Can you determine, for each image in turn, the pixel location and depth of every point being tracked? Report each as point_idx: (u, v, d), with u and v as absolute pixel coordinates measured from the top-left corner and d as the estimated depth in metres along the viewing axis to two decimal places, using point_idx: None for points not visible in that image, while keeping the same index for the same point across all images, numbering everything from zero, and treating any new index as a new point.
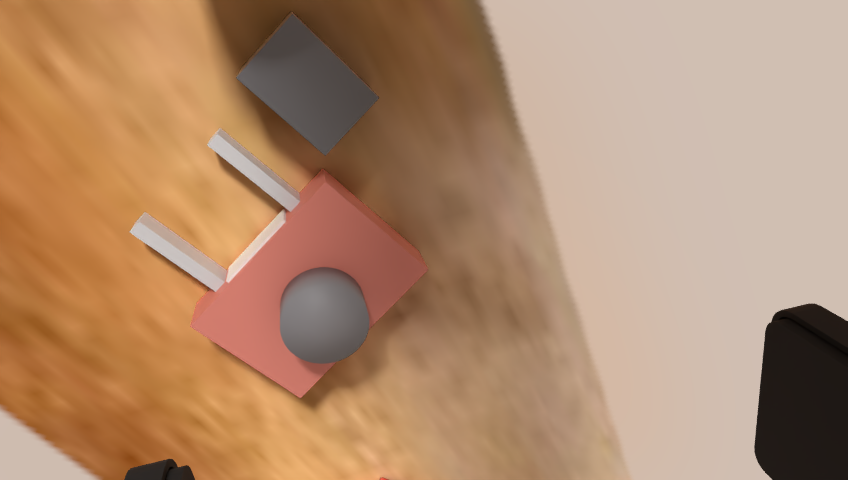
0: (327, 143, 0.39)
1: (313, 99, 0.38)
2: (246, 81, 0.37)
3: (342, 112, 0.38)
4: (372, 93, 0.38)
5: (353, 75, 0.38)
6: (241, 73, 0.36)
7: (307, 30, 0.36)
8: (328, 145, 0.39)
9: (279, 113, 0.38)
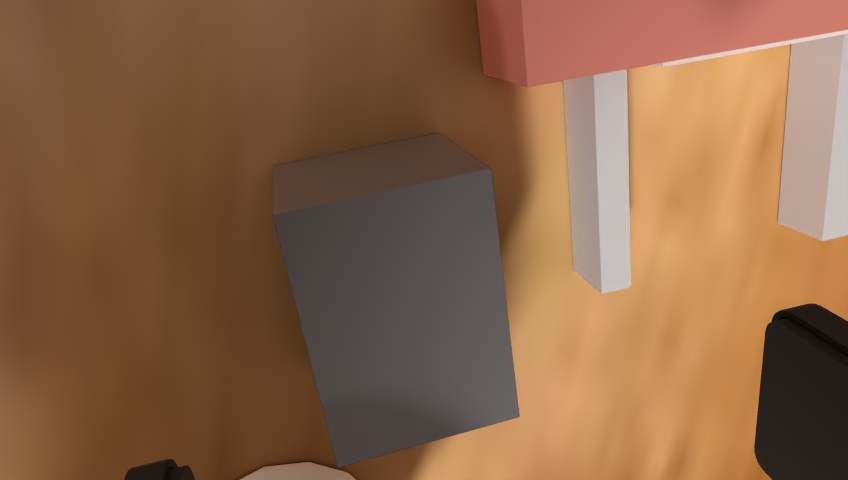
0: (463, 192, 0.14)
1: (419, 302, 0.15)
2: (508, 402, 0.16)
3: (380, 237, 0.14)
4: (282, 234, 0.14)
5: (299, 298, 0.14)
6: (504, 418, 0.17)
7: (331, 428, 0.16)
8: (466, 186, 0.14)
9: (503, 314, 0.16)
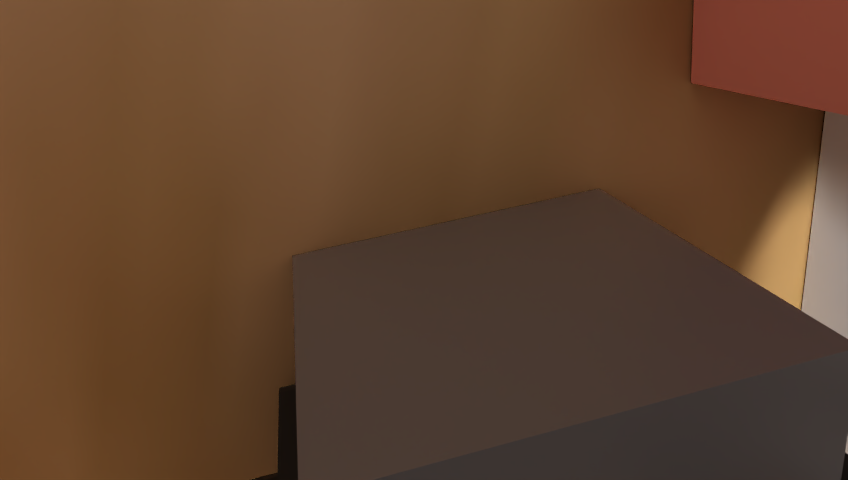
0: (784, 405, 0.06)
1: None
2: None
3: None
4: None
5: None
6: None
7: None
8: (794, 392, 0.05)
9: None
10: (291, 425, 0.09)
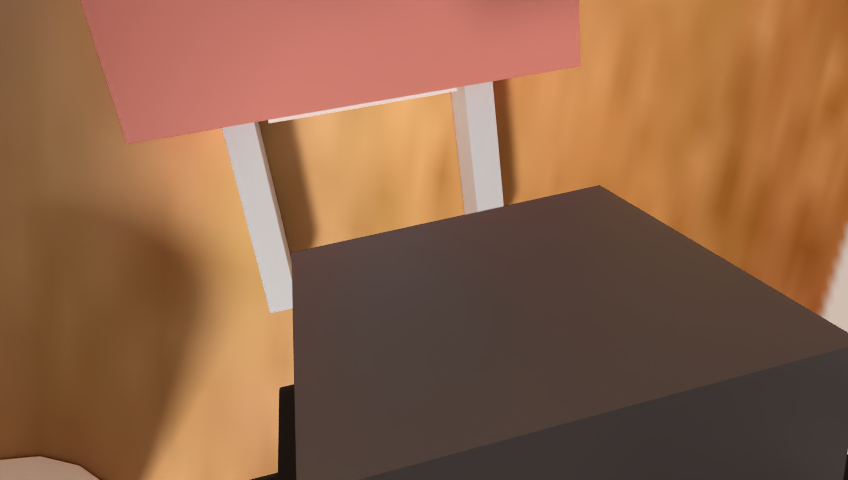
0: (787, 400, 0.05)
1: None
2: None
3: None
4: None
5: None
6: None
7: None
8: (797, 388, 0.05)
9: None
10: (291, 425, 0.09)
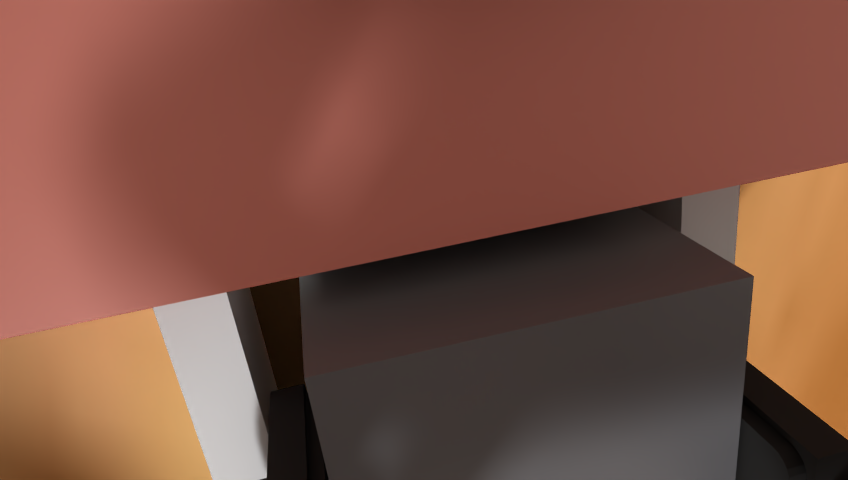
0: (693, 323, 0.07)
1: None
2: None
3: (521, 411, 0.07)
4: (323, 415, 0.06)
5: None
6: None
7: None
8: (700, 312, 0.07)
9: None
10: (281, 430, 0.08)
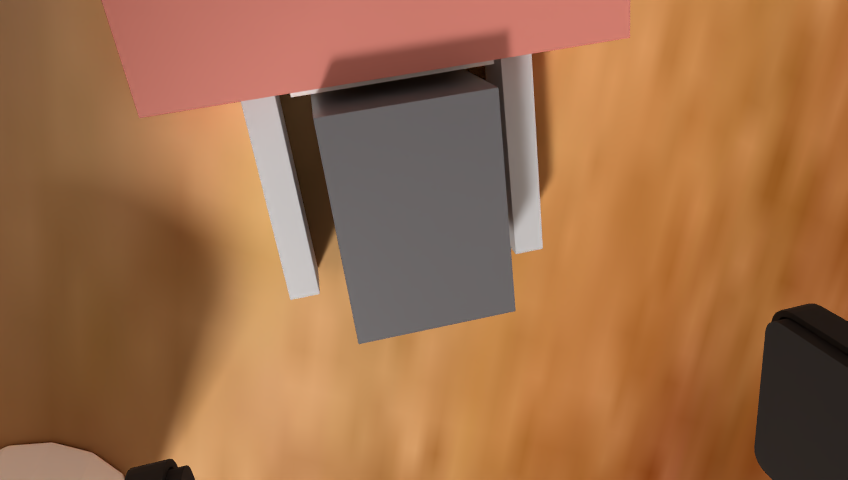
0: (474, 107, 0.17)
1: (433, 202, 0.18)
2: (506, 297, 0.19)
3: (402, 143, 0.17)
4: (320, 136, 0.16)
5: (332, 192, 0.17)
6: (502, 311, 0.19)
7: (354, 309, 0.18)
8: (476, 102, 0.17)
9: (504, 218, 0.18)
10: None
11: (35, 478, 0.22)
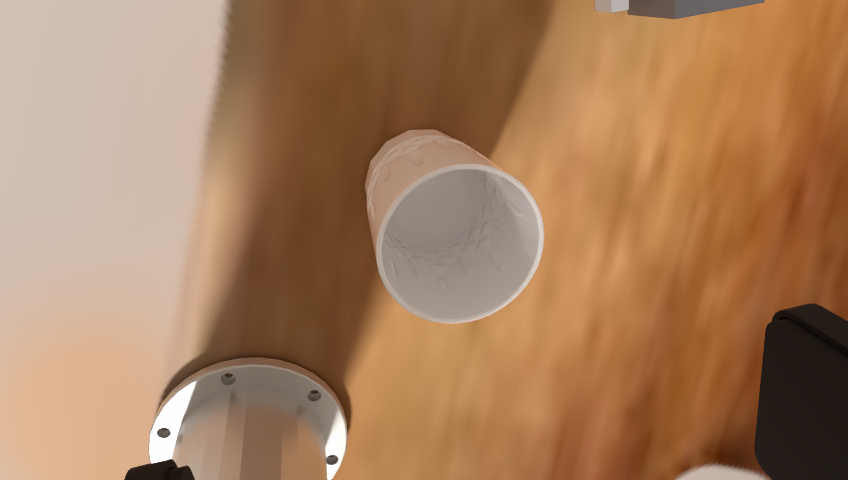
0: None
1: None
2: None
3: None
4: None
5: None
6: (756, 2, 0.32)
7: None
8: None
9: None
10: None
11: (444, 136, 0.34)
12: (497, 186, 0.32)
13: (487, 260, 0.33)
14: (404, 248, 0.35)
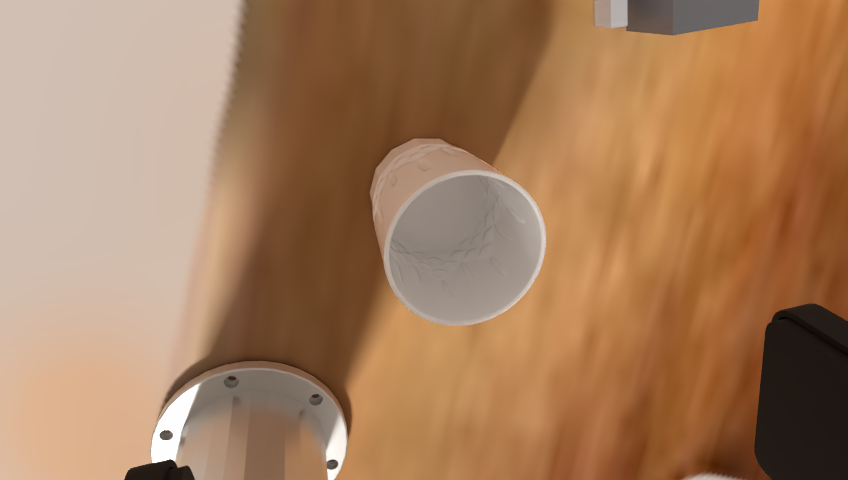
0: None
1: None
2: (754, 9, 0.33)
3: None
4: None
5: None
6: (750, 20, 0.33)
7: (674, 10, 0.32)
8: None
9: None
10: None
11: (449, 144, 0.35)
12: (500, 193, 0.33)
13: (489, 265, 0.34)
14: (408, 253, 0.35)
